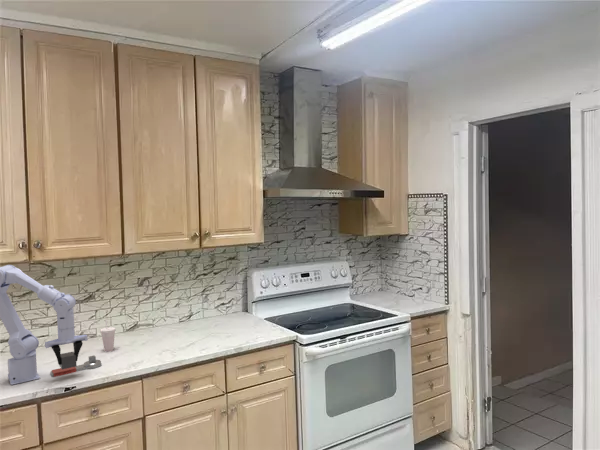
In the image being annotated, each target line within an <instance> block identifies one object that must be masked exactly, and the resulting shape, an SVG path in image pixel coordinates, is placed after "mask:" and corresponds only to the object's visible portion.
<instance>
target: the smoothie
mask: <svg viewBox="0 0 600 450" xmlns="http://www.w3.org/2000/svg"><path fill="white" fill-rule="evenodd" d="M100 333H101V338H102V339H101V340H102V344H103V345H102V346H103V349H104V352H106V353H107V352H112V351H114V346H115V335H116V327H113V326H109V327H108V320H107V319H105V327H103V328H101V329H100Z"/></svg>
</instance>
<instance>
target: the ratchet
mask: <svg viewBox="0 0 600 450" xmlns="http://www.w3.org/2000/svg"><path fill="white" fill-rule="evenodd" d="M102 365H103V364H102V361H101V359H96V356H95V355H90V356H88V360H87V361H85V362H84V363H83V364H79V365H77V366H76V367H71V368H67V369H61V367H59V368H56V369H51V371H50V376H51V377H52V378H56V377H60V376H64V375H68V374H74V373H77V372H81V371H86V370H95V369H98V368H100V367H102Z"/></svg>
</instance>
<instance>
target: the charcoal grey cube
mask: <svg viewBox="0 0 600 450" xmlns="http://www.w3.org/2000/svg"><path fill="white" fill-rule="evenodd" d="M60 356H61V365H59V364H58V365H59V368H61V369H67V368H71V367H76V366H78V365H77V361H76V354H75V353H74V351H69V352H64V353H60Z"/></svg>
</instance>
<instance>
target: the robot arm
mask: <svg viewBox="0 0 600 450" xmlns="http://www.w3.org/2000/svg"><path fill="white" fill-rule="evenodd" d="M13 284H18V285H20V286H22V287H24V288H26V289H28V290H30V291H31V292H34V293H36V295H37V299H39V300H41V301H42V302H45V303H46V304H48V305H50V306H51V307H52V308H53V310H54V312H56V324H57V338H56V339H51V340H49V341H44V347H45V349H49V348H51V349H52V350H53V353H54V354H55V357H56V360H57V364H58V365H61V356H60V354H61V350H62V349H61V346H63V345H69V344H73V352H74V353H75V354H76V362H78V358H79V354H80V351H81V349H82V347H83V342H84V341H85V342H87V341H89V340H88V339H89V338H88V335H87V334H82V335H75V333H76V332H75V331H76V330H75V314H74V312H75V311H74V307H75V306H76V304H77V301H76V298H75V297H74V296H73V295H72V294H69V293H67V294H65V292H61V291H59V290H58V289H56V288H55V286H54V285H52V284H50V285H49V284H45V285H43V284H41V282H38V281H37V280H36V279H34V278H32V277H31V276H29V275H27V274H26V273H25V272H23V271H22V270H21V269H20V268H18V267H16V266H14V265H12V264H6V265H3V266H0V320H1V322H2V323H3V325H4V327H5V330H6V331H7V333H8V335H9V338H8V340H7V345H8V346H9V353H10V355H11V356H12V357H11V358H8V359H7V378H8V382H9V383H10V386H12V385H17V384H21V383H25V382H26V383H27V382H30V381H31V382H32V381H34V380H39V379H41V378H40V375H39V373H38V367H37V365H38V364H37V349H38V347H39V345H40V341H39V339H38V337H37V336H35V335H34V334H33V333H32V331H31V330H29V329H27V328H26V327H25V325H24V324H23V321H22V320H21V318H20V316H19V314H18V312H17V310H16V308H15V307H14V304H13V303H12V301H11V299H10V297H9V295H8V293H7V291H8V289H9V287H10V285H13Z"/></svg>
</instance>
